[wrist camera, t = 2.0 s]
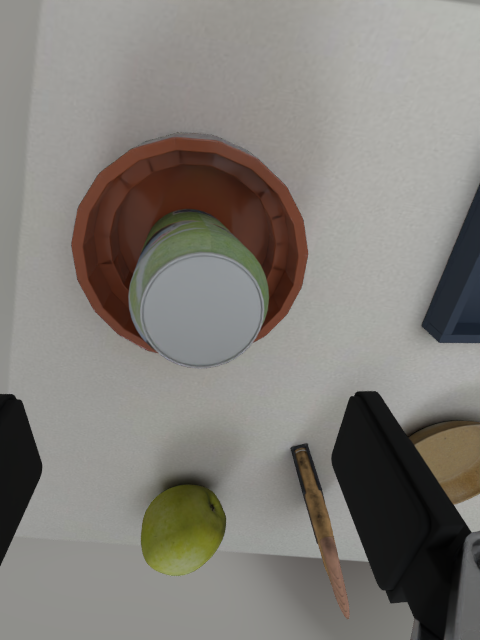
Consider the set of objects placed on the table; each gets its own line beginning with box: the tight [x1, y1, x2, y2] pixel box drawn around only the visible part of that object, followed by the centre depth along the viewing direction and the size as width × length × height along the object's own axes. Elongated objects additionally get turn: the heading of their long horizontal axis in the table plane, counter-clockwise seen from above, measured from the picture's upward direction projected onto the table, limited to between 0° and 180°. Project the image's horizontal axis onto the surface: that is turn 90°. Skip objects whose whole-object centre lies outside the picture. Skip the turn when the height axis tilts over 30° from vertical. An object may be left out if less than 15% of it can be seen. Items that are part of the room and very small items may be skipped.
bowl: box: [71, 132, 308, 353], centre depth 22 cm, size 13×13×5 cm
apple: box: [141, 485, 226, 576], centre depth 35 cm, size 8×9×8 cm
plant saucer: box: [409, 421, 480, 505], centre depth 39 cm, size 15×15×3 cm
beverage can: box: [128, 209, 269, 368], centre depth 19 cm, size 6×7×12 cm
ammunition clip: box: [291, 444, 349, 619], centre depth 34 cm, size 11×2×12 cm, turn 15°
